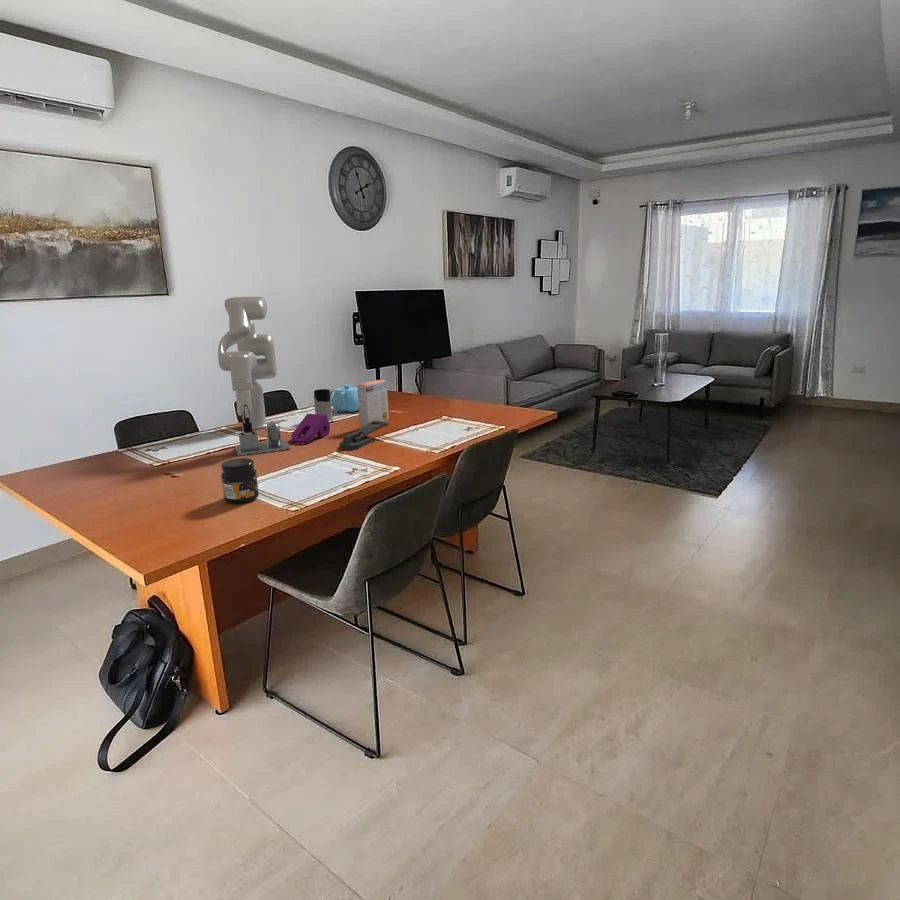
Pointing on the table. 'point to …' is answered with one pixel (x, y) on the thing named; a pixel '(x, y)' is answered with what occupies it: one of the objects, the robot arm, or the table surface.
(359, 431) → the zipper pull
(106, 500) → the table surface
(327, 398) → the black and grey mug
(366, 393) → the cracker box
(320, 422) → the mounting bracket
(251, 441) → the grey fixture stand
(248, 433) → the locking pin
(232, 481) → the supplement container
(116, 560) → the table surface
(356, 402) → the decorative pot
